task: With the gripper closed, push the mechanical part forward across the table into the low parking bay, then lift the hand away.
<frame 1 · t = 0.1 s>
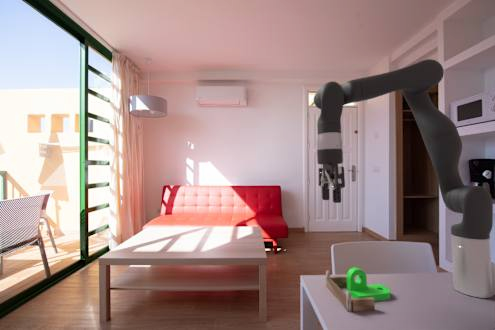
hand: (331, 201, 77), 29 cm above the table, tool pointing down, fingers open, 8 cm apart
parking bay: (352, 296, 77), on the table
mechanical part: (370, 297, 77), on the table
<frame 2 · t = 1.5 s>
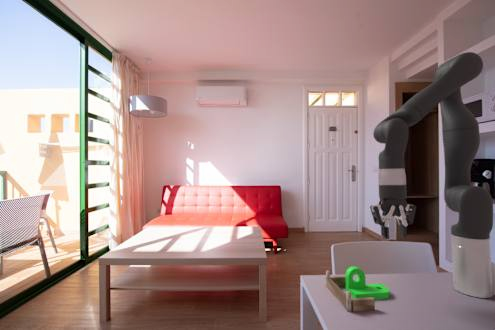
hand: (394, 238, 78), 17 cm above the table, tool pointing down, fingers open, 4 cm apart
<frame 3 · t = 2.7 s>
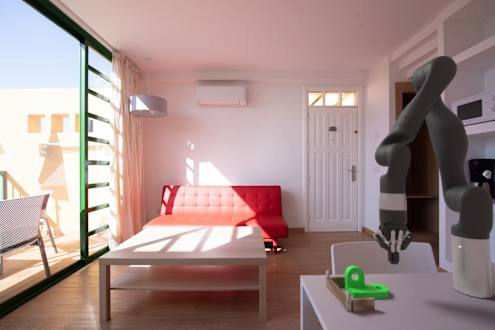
hand: (393, 263, 78), 9 cm above the table, tool pointing down, fingers closed
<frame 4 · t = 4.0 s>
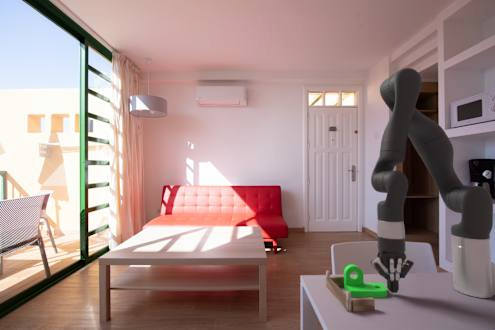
hand: (392, 291, 78), 1 cm above the table, tool pointing down, fingers closed
mechanical part: (366, 294, 79), on the table, touching gripper
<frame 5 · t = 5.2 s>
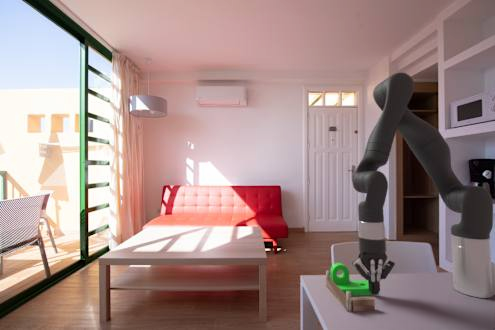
hand: (374, 292, 77), 1 cm above the table, tool pointing down, fingers closed
mechanical part: (352, 291, 81), on the table, touching gripper
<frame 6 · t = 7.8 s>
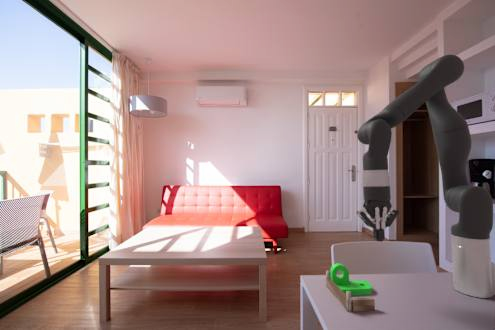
hand: (379, 240, 78), 17 cm above the table, tool pointing down, fingers closed
mechanical part: (352, 292, 81), on the table
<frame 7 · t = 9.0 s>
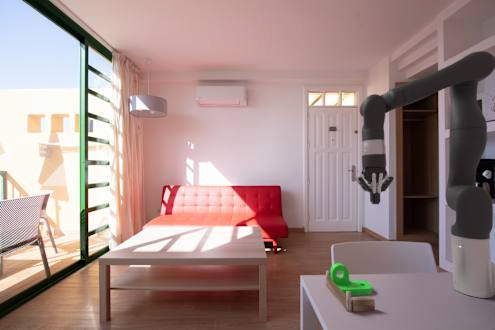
hand: (375, 204, 87), 27 cm above the table, tool pointing down, fingers closed
nothing on the table moved.
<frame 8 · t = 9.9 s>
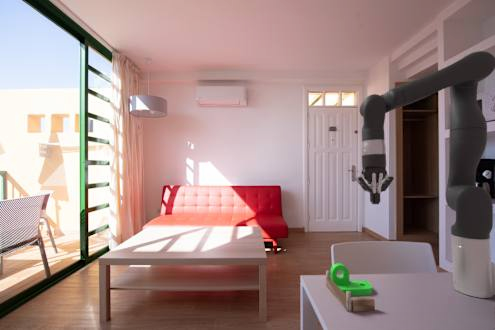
hand: (375, 204, 87), 27 cm above the table, tool pointing down, fingers closed
nothing on the table moved.
at the end: mechanical part 4.3 cm off-centre on the parking bay, point 0.0 cm above the parking bay's base; mechanical part tilted 0°; mechanical part moved 5.5 cm from its start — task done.
